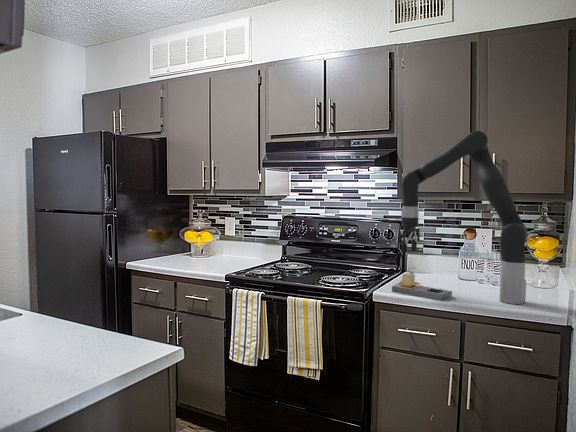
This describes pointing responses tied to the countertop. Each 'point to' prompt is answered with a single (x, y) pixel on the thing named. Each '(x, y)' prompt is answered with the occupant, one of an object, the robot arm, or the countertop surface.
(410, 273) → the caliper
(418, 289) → the gray fixture base
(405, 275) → the brass block
